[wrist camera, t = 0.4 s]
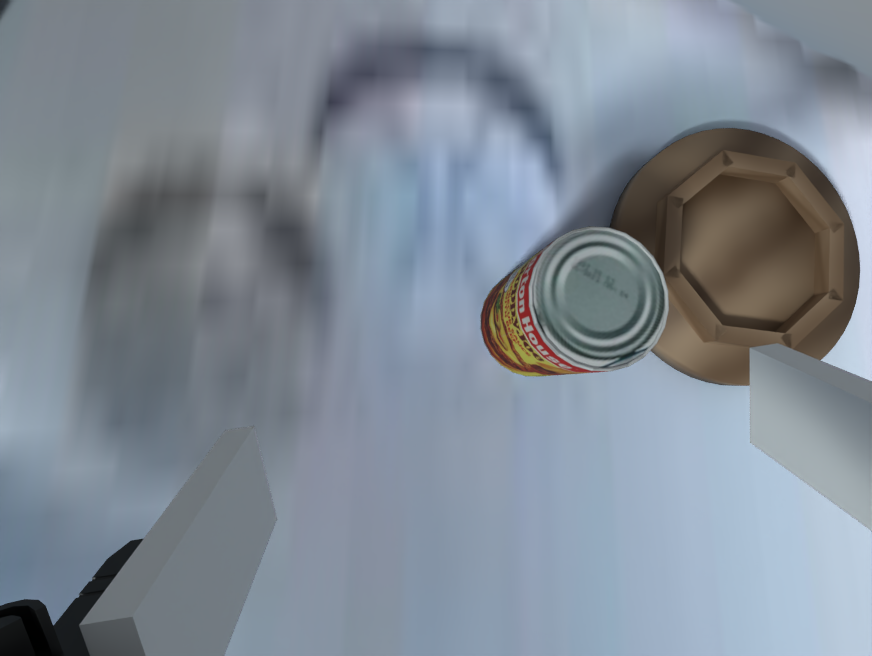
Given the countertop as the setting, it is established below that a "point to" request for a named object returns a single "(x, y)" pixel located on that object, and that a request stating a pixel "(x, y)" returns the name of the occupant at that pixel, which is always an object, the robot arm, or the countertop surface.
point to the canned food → (577, 306)
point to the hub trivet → (742, 251)
